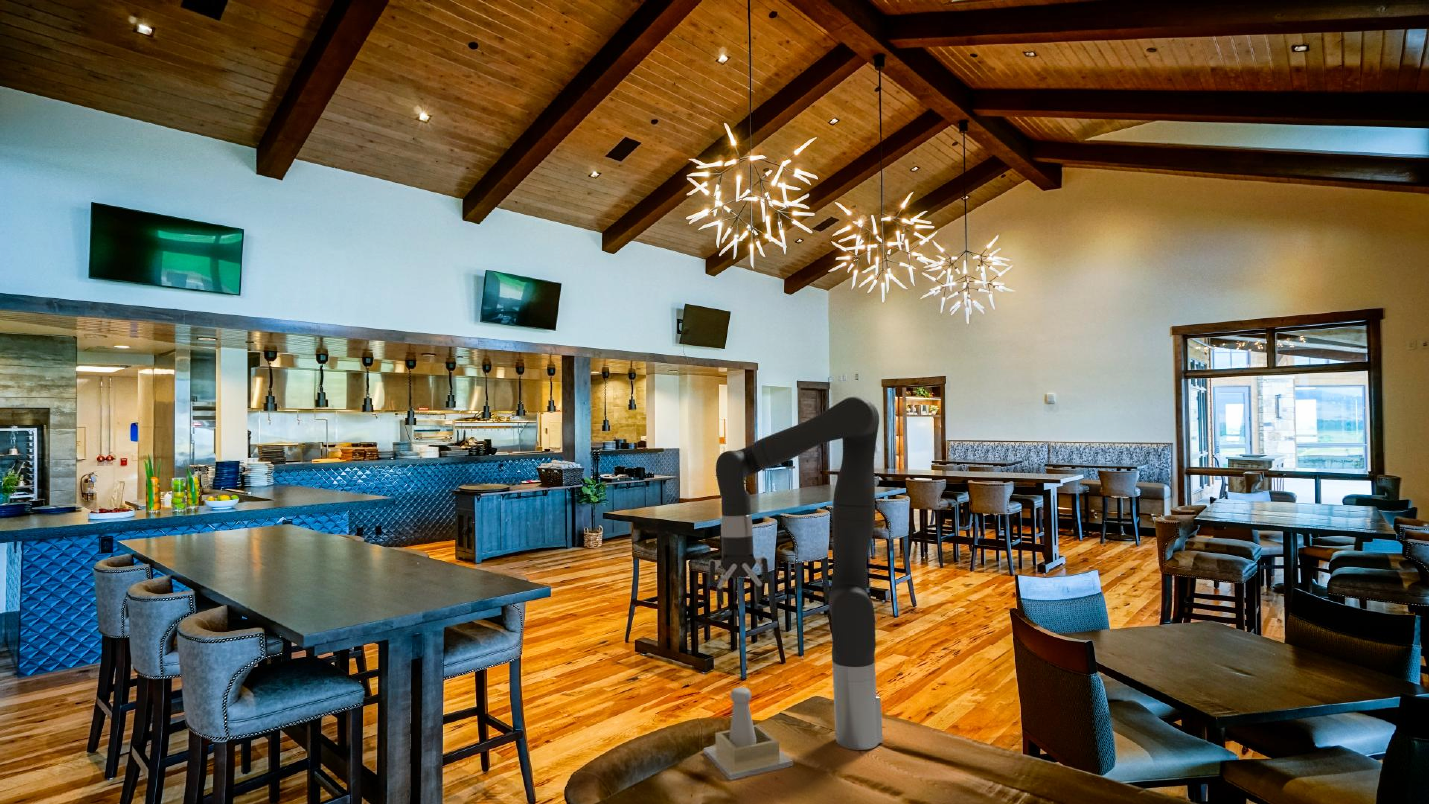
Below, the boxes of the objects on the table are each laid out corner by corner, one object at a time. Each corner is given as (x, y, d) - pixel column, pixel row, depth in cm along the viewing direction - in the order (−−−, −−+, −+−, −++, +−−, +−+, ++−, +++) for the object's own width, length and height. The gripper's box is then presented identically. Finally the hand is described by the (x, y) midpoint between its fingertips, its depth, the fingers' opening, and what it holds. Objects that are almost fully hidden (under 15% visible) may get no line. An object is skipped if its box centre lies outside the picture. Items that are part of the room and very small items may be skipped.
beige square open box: (762, 740, 154) (761, 719, 155) (793, 765, 141) (792, 743, 142) (703, 752, 149) (703, 731, 149) (729, 780, 136) (729, 756, 136)
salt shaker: (754, 759, 142) (751, 694, 143) (726, 758, 144) (724, 693, 145) (758, 747, 148) (756, 685, 149) (732, 746, 149) (730, 684, 150)
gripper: (709, 537, 162) (711, 608, 161) (769, 534, 164) (772, 604, 163) (705, 533, 169) (708, 601, 168) (763, 531, 171) (765, 598, 170)
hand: (739, 603), depth 165 cm, fingers open, 8 cm apart
